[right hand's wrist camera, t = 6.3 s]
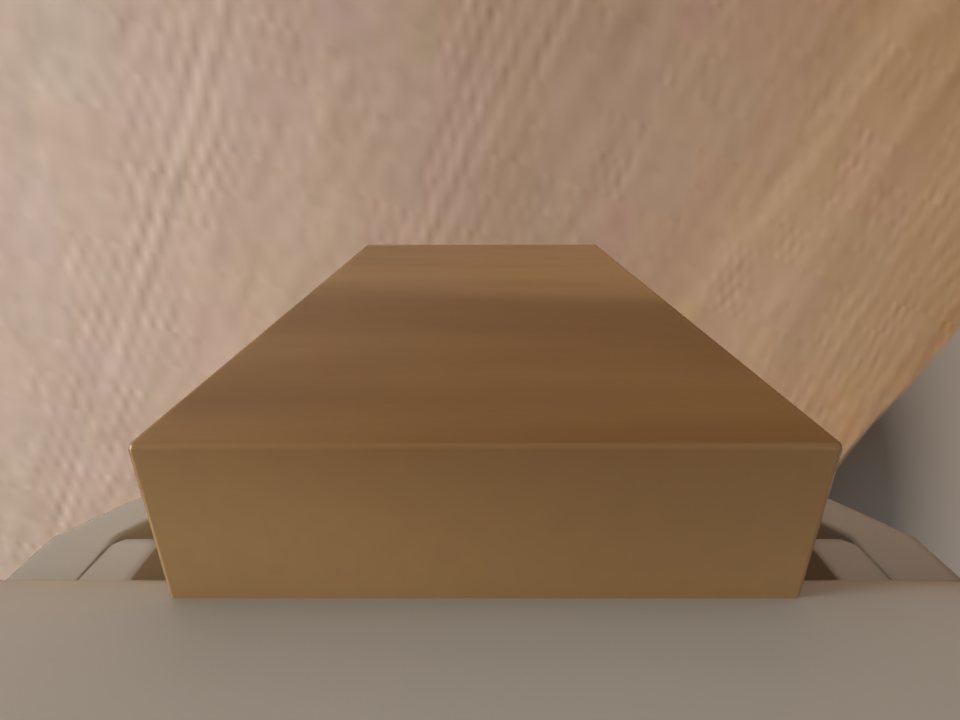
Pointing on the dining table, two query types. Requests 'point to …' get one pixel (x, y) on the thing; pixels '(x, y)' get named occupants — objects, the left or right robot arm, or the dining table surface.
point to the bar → (484, 444)
